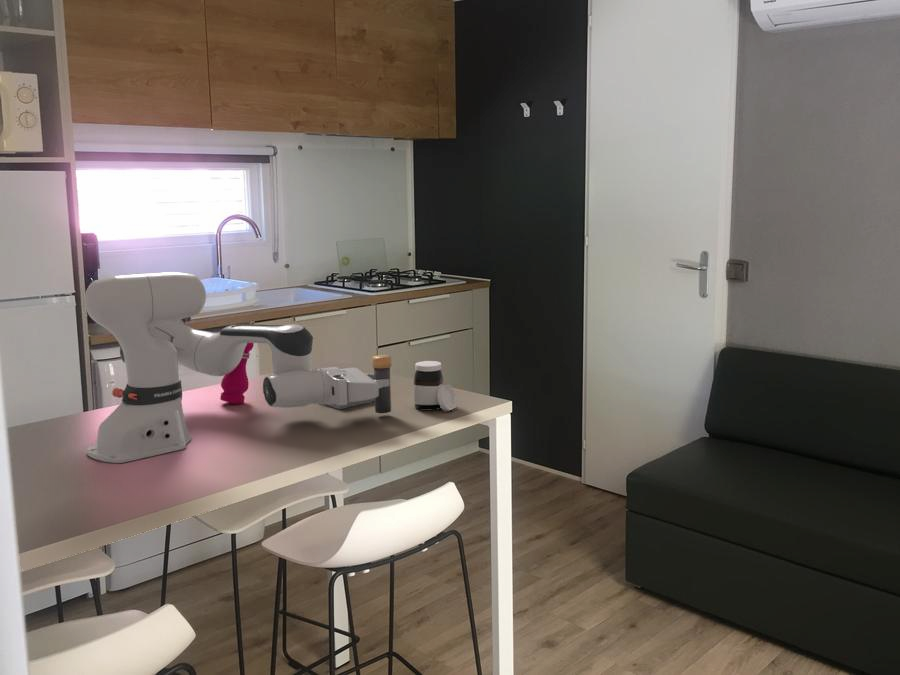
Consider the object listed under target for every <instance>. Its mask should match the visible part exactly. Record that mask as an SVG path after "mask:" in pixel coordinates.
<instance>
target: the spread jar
mask: <svg viewBox="0 0 900 675" xmlns="http://www.w3.org/2000/svg"><path fill="white" fill-rule="evenodd" d="M414 365H415V367H414V368H415V372H414V375H413V403H414V407H415V408H416V409H417V408H419V409H418V410H420V409H437V408H440V407H441V408H440V409H441V410H443V411H445V412H451V411H450V410H449V408H452V409H453V408H455V409H456V407H457V405H458V404H457V403H458V398H457V394H456V391H455V389H454V388H453V387H452V385H449V384H444V373H443V371H442V363H441V362H440V361H436V360H435V361H434V360H424V361H419V362H418V361H417V362H416V363H415V364H414ZM437 410H438V409H437Z"/></svg>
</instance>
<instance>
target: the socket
mask: <svg viewBox="0 0 900 675" xmlns="http://www.w3.org/2000/svg"><path fill="white" fill-rule="evenodd" d="M372 401H374V402H375V398H374V399H369V400H364V401H358V402H348V404H347V405H342V406H341V405H337V404H323V405H325V406H328V407H331V408H335V409H338V410H342V409H347V407H348V408H351V406H352V407H356V406H360V405H359V404H361V405H365V404H369V403H373V402H372ZM368 402H369V403H368ZM364 403H365V404H364Z"/></svg>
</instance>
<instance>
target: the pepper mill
mask: <svg viewBox="0 0 900 675" xmlns="http://www.w3.org/2000/svg"><path fill="white" fill-rule="evenodd" d="M254 344H255V343H247V345H246V347H245V349H244V352H243V356H242V359H241V361H240V363H239V364H238V365H237V367H236V368H235V369H234V370H233V371H232V372H230V373H229V374H226V375H224V376H222V379H221V382H220V387H221V389H222V390H223V391H222V392H221V393H220V398H219V399H220V400H221V401H223V402H225V403H230V404H244V403H245V398H246V397H245V395H244V394H245V393H246V392H247V391H248V389H249V384H250V382H249V378H248V377H249V376H248V375H247V363H248V359H250V356H251V353H250V351H252V350H253V348H254Z"/></svg>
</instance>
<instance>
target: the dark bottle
mask: <svg viewBox="0 0 900 675" xmlns="http://www.w3.org/2000/svg"><path fill="white" fill-rule="evenodd" d="M371 366H372V368H373V374H374V380H381V379H385V378H387V379H389V380H390V381H391V367H392V355H388V354H377V355H373V356H372V357H371ZM391 391H392V390H391V384H390V385H389V386H387V387H382V388H379V396H378V397H376V398H375V401H374V412H375V413H377V414H387V413H390V412H392V398H391V397H392V395H391V393H392V392H391Z"/></svg>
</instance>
